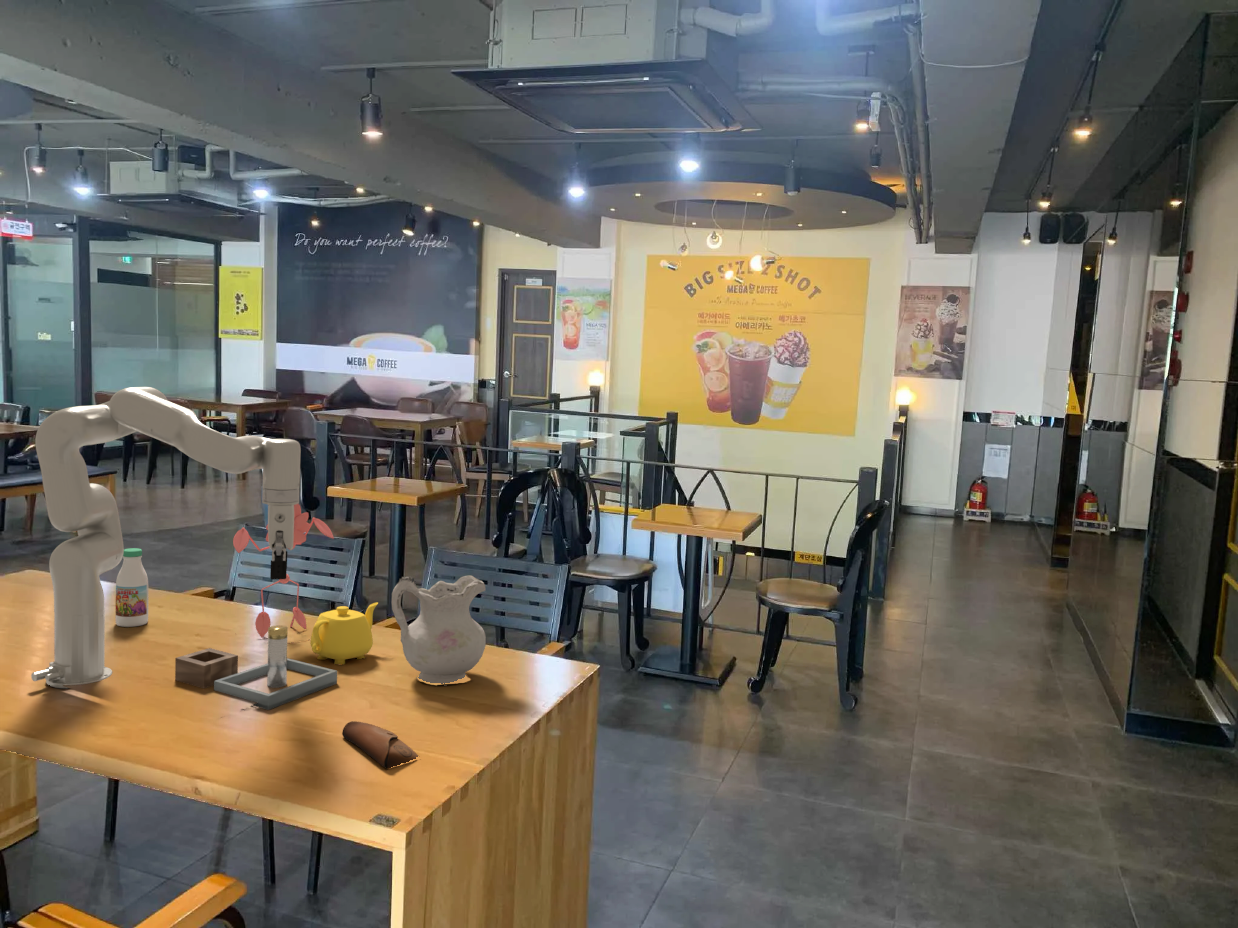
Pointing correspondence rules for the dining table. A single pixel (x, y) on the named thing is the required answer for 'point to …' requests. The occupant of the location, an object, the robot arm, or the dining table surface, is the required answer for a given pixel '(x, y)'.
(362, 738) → the sunglasses case
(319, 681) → the tray
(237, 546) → the figurine
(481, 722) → the dining table surface
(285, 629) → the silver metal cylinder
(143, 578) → the milk bottle
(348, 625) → the teapot
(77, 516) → the robot arm
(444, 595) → the ceramic pitcher
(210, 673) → the holder block
